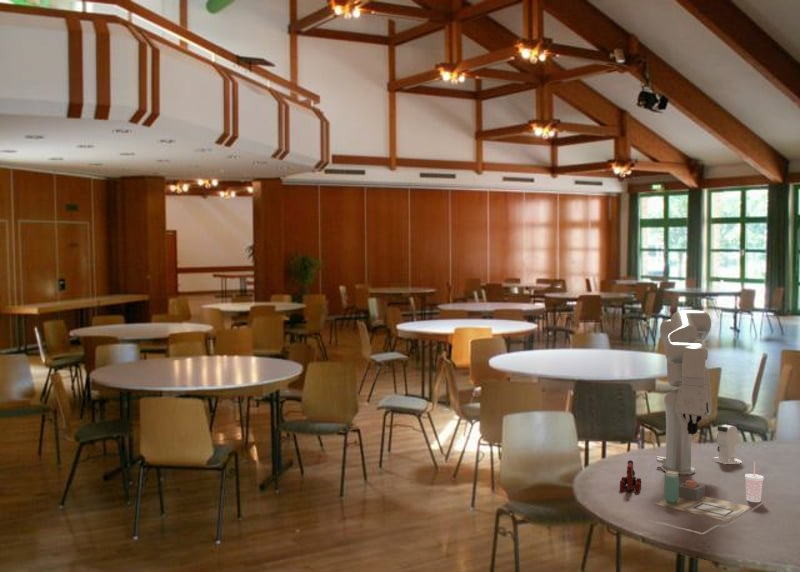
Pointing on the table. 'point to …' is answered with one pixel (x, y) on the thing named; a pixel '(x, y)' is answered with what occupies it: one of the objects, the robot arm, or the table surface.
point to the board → (708, 507)
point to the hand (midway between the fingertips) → (692, 433)
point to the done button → (691, 483)
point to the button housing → (691, 492)
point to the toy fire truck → (630, 480)
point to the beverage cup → (753, 486)
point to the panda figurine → (727, 442)
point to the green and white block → (671, 487)
